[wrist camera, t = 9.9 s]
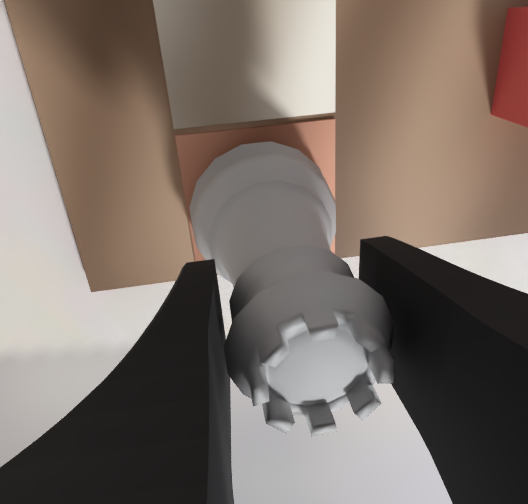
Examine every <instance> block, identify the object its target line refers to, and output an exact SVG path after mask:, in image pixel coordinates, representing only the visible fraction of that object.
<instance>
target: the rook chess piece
mask: <svg viewBox="0 0 528 504" xmlns="http://www.w3.org/2000/svg"><path fill="white" fill-rule="evenodd" d="M189 210H190V216H191V222H192V228H193V234H194V236H195V243H196V247H197V248H198V250H199V251H200V252H201V254H202V255H203V257H204V258H205V260H210V259H215V266H216V273H217V274H218V275H220V276H222V277H223V278H225V279H226V280H228V281H229V282H231V283H232V284H233V286H234V289H233V292H232V295H231V298H230V301H229V302H230V310H231V318H232V325H231V328H230V330H229V333H228V336H227V339H226V342H225V344H224V353H225V360H226V367H227V374H228V375H229V376H230V378H231V379H232V380H233V382H234V383H235V384H236V385H237V387H238V388H239V389H240V391H241V392H242V393H243V394H244V395H246V396H248V397H249V398H251V399H252V402H253V406H256V405H259V404H262V405H263V410H264V415H265V421H266V424H268V425H270V426H272V427H274V428H276V429H278V430H280V431H282V432H284V433H287V432H288V431H289V430H290V428H291V427H292V426H293V424H294V423H295V422H294V418H293V415H294V416H302V417H306V419H307V423H308V426H309V430H310V433H311V436H318V435H324V434H329V433H335V432H338V431H337V428H336V424H335V421H334V418H333V415H332V412H334V411H336V410H338V409H340V408H342V407H344V406H346V405H349V404H351V407H352V409H353V412H354V413H355V414H356V415H357V416H358V417H359V418H360V419H361V420H363V419H365V418H366V417H367V416H368V415H369V414H370V413H371V412H372V411H374V410H375V409H376V408H377V407H378V406H380V404H381V402H380V400H379V398H378V396H377V394H376V392H375V390H374V388H373V384H374V382H375V380H376V381H377V383H393V380H394V368H395V361H394V359H393V358H392V356H391V354H390V351H391V348H392V340H393V327H394V320H393V318H392V316H391V313H390V311H389V309H388V307H387V304H386V302H385V300H384V298H383V296H381V295H380V294H379V293H377V292H376V291H375V290H373V289H372V288H371V287H369V286H368V285H367V284H365V283H364V282H363V281H361V280H360V279H357V278H354V276H353V274H352V272H351V270H350V268H349V266H348V264H347V263H346V262H344V261H343V260H342V259H341V258H339V257H338V256H337V255H335V254H334V253H333V252H331V249H330V247H331V244H332V241H333V238H334V236H335V234H336V202H335V199H334V197H333V195H332V193H331V191H330V188H329V186H328V184H327V182H326V180H325V178H324V177H323V175H322V172H321V170H320V168H319V167H318V166H317V165H316V164H315V163H314V162H312V161H311V160H310V159H309V158H308V157H307V156H305V155H304V154H303V153H302V152H301V151H300V150H298V149H295V148H292V147H288V146H285V145H282V144H278V143H275V142H272V141H269V142H260V143H251V144H242V145H240V146H238V147H236V148H234V149H232V150H230V151H228V152H227V153H225V154H223V155H221V156H219V157H217V158H216V159H214V161H213V162H212V163H211V164H210V166H209V167H208V168H207V169H206V170H205V172H204V173H203V174H202V175H201V177H200V178H199V179H198V180H197V182H196V185H195V189H194V193H193V196H192V200H191V204H190V207H189Z"/></svg>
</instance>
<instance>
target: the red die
mask: <svg viewBox="0 0 528 504" xmlns="http://www.w3.org/2000/svg"><path fill="white" fill-rule="evenodd" d="M491 115H493V116H496V117H499V118H502V119H505V120H507V121H510V122H513V123H516V124H519V125H522V126H525V127H527V128H528V6H524V7H512V8H508V11H507V17H506V23H505V29H504V36H503V42H502V48H501V54H500V60H499V67H498V73H497V79H496V85H495V92H494V98H493V104H492V110H491Z"/></svg>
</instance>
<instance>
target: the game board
mask: <svg viewBox="0 0 528 504" xmlns="http://www.w3.org/2000/svg"><path fill="white" fill-rule="evenodd" d="M4 2H5V5H6V9H7V12H8V15H9V19H10V22H11V25H12V29H13V32H14V36H15V39H16V42H17V46H18V49H19V52H20V56H21V59H22V62H23V66H24V69H25V72H26V76H27V79H28V82H29V86H30V89H31V92H32V96H33V99H34V102H35V106H36V109H37V112H38V116H39V119H40V123H41V126H42V129H43V133H44V136H45V139H46V143H47V146H48V149H49V153H50V156H51V159H52V163H53V166H54V169H55V173H56V176H57V179H58V183H59V186H60V189H61V193H62V196H63V200H64V203H65V206H66V210H67V213H68V216H69V220H70V223H71V226H72V230H73V233H74V236H75V240H76V243H77V246H78V250H79V253H80V256H81V260H82V263H83V266H84V270H85V273H86V276H87V280H88V283H89V287H90V290H91V292H95V291H103V290H110V289H118V288H125V287H132V286H140V285H147V284H154V283H162V282H169V281H176V280H177V278H178V276H179V274H180V271H181V269H182V267H183V266H184V265H185V264H186V263H187V262H195V261H202V260H205V258H204V257H203V255H202V254H201V252H200V251H199V250H198V248H197V247H196V243H195V236H194V234H193V228H192V222H191V216H190V210H189V207H190V204H191V200H192V196H193V193H194V189H195V185H196V182H197V180H198V179H199V178H200V177H201V175H202V174H203V173H204V172H205V170H206V169H207V168H208V167H209V166H210V164H211V163H212V162H213V161H214V159H216V158H217V157H219V156H221V155H223V154H225V153H227V152H228V151H230V150H232V149H234V148H236V147H238V146H240V145H242V144H251V143H260V142H269V141H272V142H275V143H278V144H282V145H285V146H288V147H292V148H295V149H298V150H300V151H301V152H302V153H303V154H304V155H305V156H307V157H308V158H309V159H310V160H311V161H312V162H314V163H315V164H316V165H317V166H318V167H319V168H320V170H321V172H322V175H323V177H324V178H325V180H326V182H327V184H328V186H329V188H330V191H331V193H332V195H333V197H334V199H335V202H336V234H335V236H334V238H333V241H332V244H331V247H330V249H331V252H333V253H334V254H335V255H337V256H338V257H339V258H346V257H353V256H360V239H366V238H374V237H381V236H389V237H392V238H395V239H398V240H400V241H402V242H405V243H407V244H409V245H412V246H414V247H416V248H420V247H427V246H434V245H442V244H449V243H456V242H464V241H471V240H479V239H486V238H493V237H501V236H508V235H515V234H523V233H528V128H527V127H525V126H522V125H519V124H516V123H513V122H510V121H507V120H505V119H502V118H499V117H496V116H493V115H491V110H492V104H493V98H494V92H495V85H496V79H497V73H498V67H499V60H500V54H501V48H502V42H503V36H504V29H505V23H506V17H507V11H508V8H512V7H524V6H528V0H4ZM217 275H218V274H217Z"/></svg>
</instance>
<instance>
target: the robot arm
mask: <svg viewBox="0 0 528 504" xmlns="http://www.w3.org/2000/svg"><path fill="white" fill-rule="evenodd" d="M359 279H360V280H361V281H363V282H364V283H365V284H367V285H368V286H369V287H371V288H372V289H373V290H375V291H376V292H377V293H379V294H380V295H381V296H383V298H384V300H385V302H386V304H387V307H388V309H389V311H390V313H391V316H392V318H393V320H394V327H393V340H392V348H391V351H390V354H391V356H392V358H393V359H394V361H395V368H394V380H393V383H391V384H392V386H393V388H394V389H395V391H396V393H397V395H398V396H399V398H400V400H401V401H402V403H403V404H404V407H405V408H406V410H407V412H408V413H409V415H410V417H411V419H412V420H413V422H414V424H415V425H416V427H417V429H418V431H419V432H420V434H421V436H422V438H423V440H424V442H425V444H426V446H427V448H428V450H429V452H430V454H431V456H432V458H433V460H434V463H435V465H436V467H437V469H438V471H439V474H440V476H441V478H442V480H443V483H444V485H445V487H446V489H447V491H448V494H449V496H450V498H451V500H452V503H453V504H528V294H527V293H524V292H521V291H518V290H515V289H513V288H510V287H507V286H505V285H502V284H500V283H497V282H495V281H492V280H489V279H487V278H484V277H482V276H479V275H477V274H475V273H472V272H470V271H467V270H465V269H463V268H460V267H458V266H456V265H454V264H451V263H449V262H447V261H445V260H442V259H440V258H438V257H436V256H434V255H431V254H429V253H427V252H425V251H423V250H421V249H418V248H416V247H414V246H412V245H409V244H407V243H405V242H402V241H400V240H398V239H395V238H392V237H389V236H381V237H374V238H366V239H360V262H359ZM225 342H226V338H225V330H224V323H223V316H222V309H221V302H220V294H219V287H218V280H217V273H216V266H215V259H210V260H202V261H195V262H187V263H186V264H185V265H184V266H183V267H182V269H181V271H180V274H179V276H178V278H177V280H176V282H175V284H174V285H173V287H172V289H171V291H170V293H169V294H168V296H167V298H166V299H165V301H164V303H163V304H162V306H161V307H160V309H159V311H158V312H157V314H156V315H155V317H154V318H153V320H152V321H151V323H150V324H149V326H148V327H147V328H146V330H145V331H144V332H143V334H142V335H141V337H140V338H139V339H138V341H137V342H136V343H135V345H134V346H133V347H132V348H131V350H130V351H129V352H128V353H127V355H126V356H125V357H124V358H123V359H122V361H121V362H120V363H119V364H118V365H117V366H116V367H115V369H114V370H113V371H112V372H111V373H110V374H109V375H108V376H107V377H106V378H105V379H104V381H102V383H101V384H99V385H98V386H97V387H96V388H95V389H94V390H93V391H92V392H91V393H90V394H89V395H88V396H87V397H85V398H84V399H83V400H82V401H81V402H80V403H79V404H78V405H77V406H76V407H75V408H74V409H73V410H72V411H70V412H69V413H68V414H67V415H66V416H65V417H64V418H63V419H61V420H60V421H59V422H58V423H57V424H55V425H54V426H53V427H52V428H51V429H49V430H48V431H47V432H46V433H45V434H43V435H42V436H41V437H40V438H38V439H37V440H36V441H35V442H33V443H32V444H31V445H29V446H28V447H27V448H26V449H24V450H23V451H22V452H20V453H19V454H18V455H16V456H15V457H14V458H13V459H11V460H10V461H9V462H7V463H6V464H4V465H3V466H2V467H0V504H234V499H233V489H232V473H231V419H230V418H231V415H230V414H231V413H230V412H231V411H230V376H229V375H228V374H227V367H226V360H225V353H224V344H225Z"/></svg>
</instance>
